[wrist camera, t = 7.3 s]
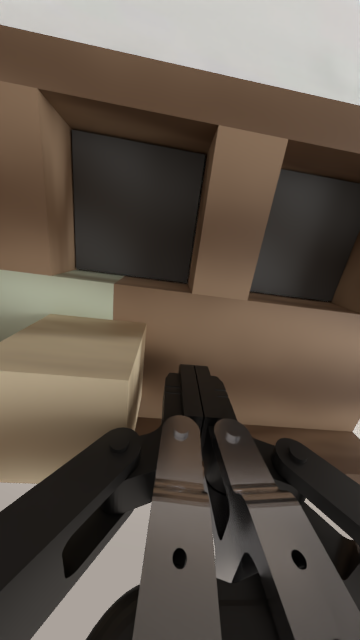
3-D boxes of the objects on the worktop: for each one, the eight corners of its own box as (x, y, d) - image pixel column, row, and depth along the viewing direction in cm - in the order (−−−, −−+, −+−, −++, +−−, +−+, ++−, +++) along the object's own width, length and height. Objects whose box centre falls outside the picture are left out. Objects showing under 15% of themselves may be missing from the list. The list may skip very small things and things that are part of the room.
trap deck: (-39, 70, 9) (-345, -186, 4) (431, 165, 12) (674, 91, 6) (13, 387, 15) (-76, 467, 10) (318, 410, 18) (387, 487, 12)
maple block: (50, 313, 11) (-46, 367, 6) (146, 323, 11) (128, 380, 6) (57, 391, 12) (-13, 482, 8) (141, 397, 13) (123, 486, 8)
